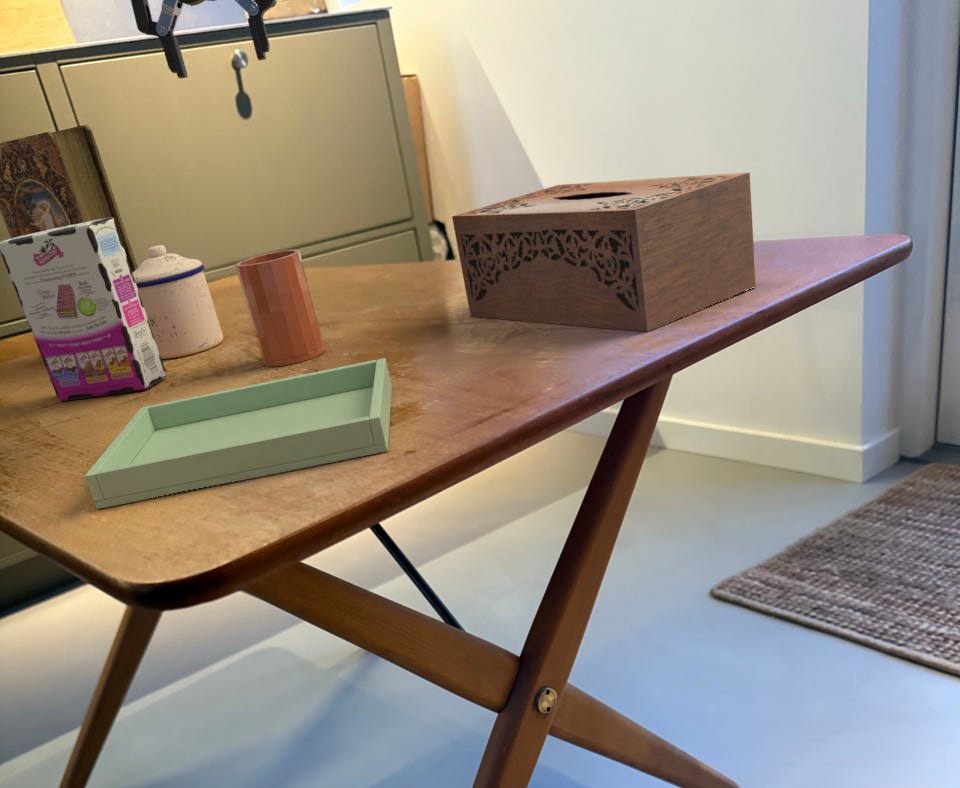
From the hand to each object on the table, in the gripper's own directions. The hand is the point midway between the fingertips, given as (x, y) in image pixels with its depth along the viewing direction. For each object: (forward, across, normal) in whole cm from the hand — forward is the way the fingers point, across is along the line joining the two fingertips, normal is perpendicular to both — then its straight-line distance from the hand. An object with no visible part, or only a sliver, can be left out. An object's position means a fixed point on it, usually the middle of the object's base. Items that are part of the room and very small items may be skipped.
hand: (222, 68), depth 108 cm
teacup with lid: (+27, +14, -2) cm, 31 cm away
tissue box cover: (+29, -33, +18) cm, 48 cm away
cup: (+28, -1, +14) cm, 31 cm away
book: (+26, +26, -13) cm, 39 cm away
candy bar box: (+28, +19, +11) cm, 35 cm away
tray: (+30, -1, +43) cm, 52 cm away
